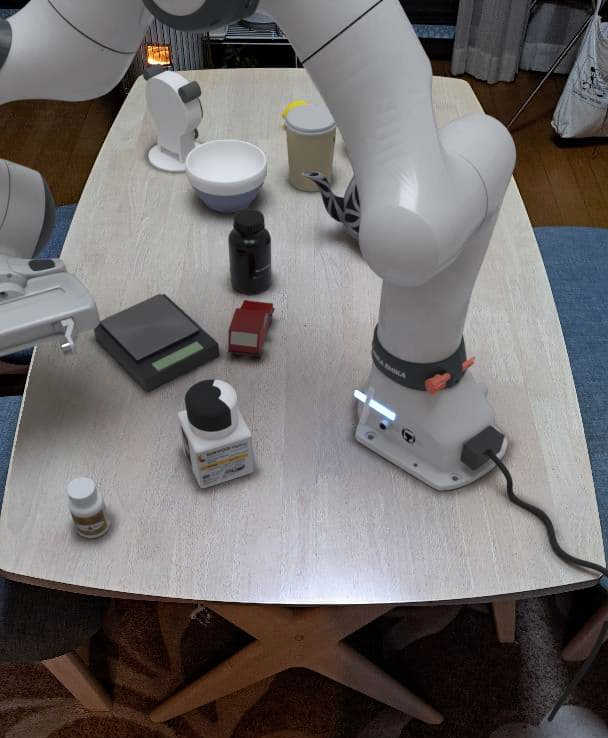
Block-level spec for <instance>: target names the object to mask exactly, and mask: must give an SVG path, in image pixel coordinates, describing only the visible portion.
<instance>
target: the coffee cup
mask: <svg viewBox="0 0 608 738" xmlns="http://www.w3.org/2000/svg"><path fill="white" fill-rule="evenodd" d="M284 124H285V133H286V134H285V135H286V149H287V162H288V174H289V175H288V176H289V181H290V184H291V186H292V187H294V188H295V189H296V190H300V191H303V192H308V193H309V192H320V190H319V188H318V186H317V184H316V183H315V182H314V181H313V180H311V179H309V178H307V177H305V176H303V175H302V173H304V172H319V173H321V174H323V175H324V176H325V177H326V178H327V180H328V182H329V185H330V184H331V181H332V174H333V173H332V172H333V164H334V155H335V148H336V147H335V146H336V136H337V128H338V127H337V125H336V123H335V121H334V119H333V118H332V116H331V114H330V112H329V110H328V109H327V107H326V105H321V104H315V103H309V104H305V105H300V106H297V107H294V108H293V109H291V110H290V111H289V112H288V114H287V116H286V118H285V120H284Z"/></svg>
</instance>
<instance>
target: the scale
mask: <svg viewBox="0 0 608 738" xmlns="http://www.w3.org/2000/svg"><path fill="white" fill-rule="evenodd" d="M93 333H94V336H95V340H96V341H97V342H98V343H99V344H100V345H101V346H102V347H103V348H104V349H105V351H107V352H108V353H109V354H110V355H111V357H112V358H114V360H115V361H116V362H117V363H118V364H119V365H120V366H121V367H122V368H123V369H124V370H125V371H126V372H127V373H128V374H129V375H130V376H131V377H132V378H133V379H134V380H135V382H137V383H138V384H139V385H140V386H141V387H142V389H144V391H145V392H146V393H150V392H152V391H153V390H155V389H157V388H159V387H162V386H163V385H165V384H167V383H169V382H172V380H175V379H177V378H179V377H181V376H183V375H185V374H187V373H189V372H191V371H192V370H195V369H197V368H199V367H200V366H202V365H204V364H206V363H208V362H210V361H212V360H214V359H216V358H218V357H220V356H221V355H220V347H219V342H218V341H216V340H215V339H214V338H213V336H211V335H210V334H209V333H208V332H207V331H206V330H204V329H203V328H202V327H201V326H200V325H199V324H198V323H197V322H196V321H195V320H194V319H193V318H191V317H190V316H189V315H188V314H187V313H186V312H185V311H184V310H183V309H182V308H181V307H180V306H179V305H178V304H176V302H174V300H172V299H171V298H170V297H169V296H168V295H166V293H163V294H161V293H158V294H156V295H154V296H151V297H149V298H147V299H145V300H143V301H140V302H138V303H136V304H134V305H132V306H130V307H127V308H125V309H122V310H121V311H119V312H116V313H114V314H112V315H110V316H108V317H105V318H103V319H102V320H101V319H100V322H99V324H98V326H97V327H96V328H95V329H93Z"/></svg>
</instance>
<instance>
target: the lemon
mask: <svg viewBox="0 0 608 738" xmlns="http://www.w3.org/2000/svg"><path fill="white" fill-rule="evenodd" d="M305 104H310V103H309V102H308V101H305V100H302V99H301V100H300V99H298V100H293V101H291V102H290V103H289V104H288V105H287V106H286V107H285V108H284V110H283V111H282V113H281V117H282V118H283V120H284V121H285V118H286V116H287V114H288V112H289V111H290V110H291V109H293V108H294V107H297V106H300V105H305Z"/></svg>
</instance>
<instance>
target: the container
mask: <svg viewBox="0 0 608 738" xmlns="http://www.w3.org/2000/svg"><path fill="white" fill-rule="evenodd" d="M184 404H185V409H184V410H181V411H178V412H177V415H176V416H177V422H178V427H179V434H180V439H181V445H182V451H183V453H184V455H185V458H186V460H187V462H188V465H189V466H190V468H191V471H192V473H193V476H194V477H195V479H196V481H197V483H198V486H199V488H200V489H207V488H209V487H212V486H215V485H219V484H223V483H225V482H228V481H231V480H234V479H237V478H240V477H244V476H247V475H249V474H253V473H254V471H255V470H254V468H255V467H254V453H253V452H254V451H253V437H252V433H251V431H250V429H249V427H248V425H247V423H246V422H245V420H244V417H243V416H242V414H241V412H240V410H239V407H238V406H239V405H238V395H237V392H236V389H235V388H234V386H232V385H231V384H229V383H228V382H226V381H223V380H220V379H213V378H212V379H211V378H209V379H203V380H200V381H198V382H196V383H194V384H193V385H192V386H191V387H190V388H189V389H187V391H186V393H185V395H184Z"/></svg>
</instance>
